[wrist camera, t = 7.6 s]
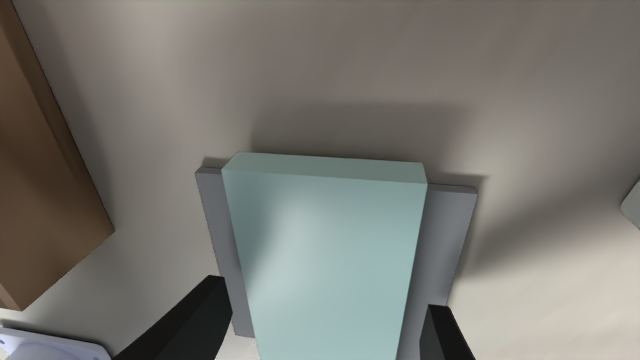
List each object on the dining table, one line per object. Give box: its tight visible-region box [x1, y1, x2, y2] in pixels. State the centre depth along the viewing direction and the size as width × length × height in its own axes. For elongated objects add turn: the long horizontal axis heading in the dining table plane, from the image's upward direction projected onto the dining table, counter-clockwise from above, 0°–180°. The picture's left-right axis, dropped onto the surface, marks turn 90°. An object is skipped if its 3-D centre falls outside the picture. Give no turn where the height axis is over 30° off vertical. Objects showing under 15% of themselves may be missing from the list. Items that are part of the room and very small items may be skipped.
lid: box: [221, 152, 428, 360], centre depth 11 cm, size 11×6×1 cm, turn 1°
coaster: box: [195, 167, 478, 360], centre depth 12 cm, size 9×9×1 cm
